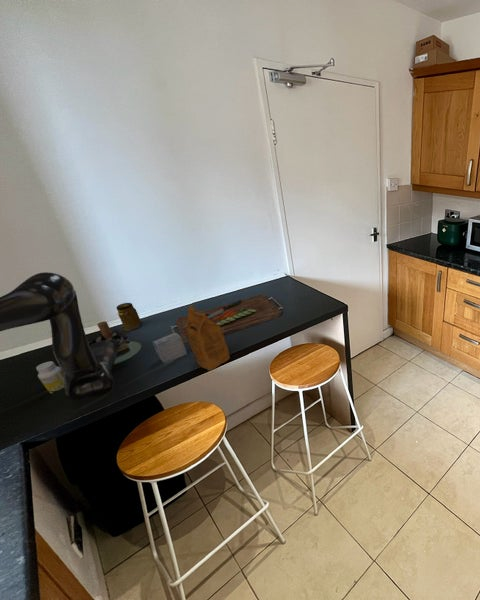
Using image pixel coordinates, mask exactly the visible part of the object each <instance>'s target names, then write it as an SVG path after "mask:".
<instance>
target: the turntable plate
mask: <svg viewBox="0 0 480 600" xmlns="http://www.w3.org/2000/svg"><path fill="white" fill-rule="evenodd" d="M125 344H126V343H125ZM127 345H128V347H129V349H130V351H128V352H126V353H124V354H121V355H119V356H117V357H116V359H115V362H114V364H113V365H116V364H120V363H122V362H124V361H126V360H128V359H130V358H132V357H133V356H135V355H137V353H138V352H139V351H140V350H141V348H142V344H141V343H140V342H138V341H130V343H128V344H127Z"/></svg>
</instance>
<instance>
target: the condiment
mask: <svg viewBox="0 0 480 600" xmlns="http://www.w3.org/2000/svg"><path fill="white" fill-rule="evenodd" d="M116 310H117V315H118V317H119V319H120V321H121V323H122V326H123V327H124V328H123V330H124V331H126V332H133V331H136V330H139V329H141V328H142V327H143V326H144V325H143V323H142V320H141V318H140V315H139V313H138V311H137V309H136V308H135V307H134V306H133V303H131V302H124V303H120V304H118V305H117V306H116Z"/></svg>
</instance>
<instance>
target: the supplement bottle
mask: <svg viewBox="0 0 480 600" xmlns="http://www.w3.org/2000/svg"><path fill="white" fill-rule="evenodd" d="M35 369H36V371H37V373H38V374H37V378H38V379H39V381H40V383H42V385H43V386H44V387H45V389H46V390H47V392H48V393H49V394H53V393H54V392H59V391H61V390H64V385H65V381H64V375H63V371H62V369H61V367H60V366H59V365H56V363H55V362H54V361H50V360H49V361H46V362H43V363H41V364H38V365H37V366H36V367H35Z"/></svg>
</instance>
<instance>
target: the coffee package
mask: <svg viewBox="0 0 480 600" xmlns="http://www.w3.org/2000/svg"><path fill="white" fill-rule="evenodd" d="M197 312H198V310H197V308H196V307H195V306H194V305H189V306H188V312H187V315H188V320H187V333H188V337H187V340H188V341H189V343H190V344H189V347H190V349H191V351H192V353H193V357H194V359H195V362H196V363H197V365H198V366H199V367H201V368H202V369H204V370H207V371H213V370H214V369H216V368H217V367H219V366H220V365H222V364H225V363H227V362H228V361H229V360H230V359H231V356H230V353H229V345H228V344H227V342H226V338H225V335H223V333H222V329H221V327H220V326H219V325H217V324H216V323H214V322H213V321H211V320H210V319H208V318H207V317H208V316H210V315H209V314H208V313H197Z"/></svg>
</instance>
